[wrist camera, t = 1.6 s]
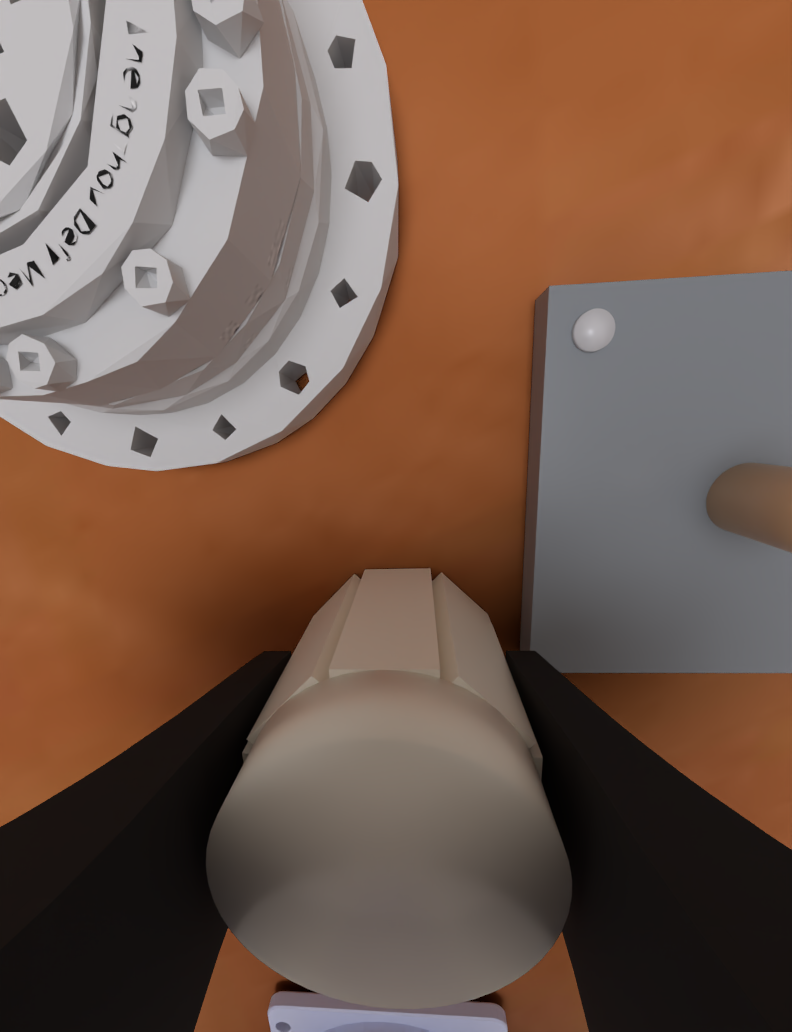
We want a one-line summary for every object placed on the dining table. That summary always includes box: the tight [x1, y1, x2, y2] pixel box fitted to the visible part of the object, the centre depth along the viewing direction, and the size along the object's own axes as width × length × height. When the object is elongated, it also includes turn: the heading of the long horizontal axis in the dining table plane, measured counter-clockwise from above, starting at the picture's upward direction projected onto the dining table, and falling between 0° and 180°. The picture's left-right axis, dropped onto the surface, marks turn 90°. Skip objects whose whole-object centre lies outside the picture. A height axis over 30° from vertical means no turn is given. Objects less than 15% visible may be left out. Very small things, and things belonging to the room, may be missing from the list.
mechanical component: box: [0, 0, 398, 471], centre depth 6 cm, size 10×4×10 cm
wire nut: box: [206, 568, 572, 1009], centre depth 7 cm, size 5×5×5 cm
